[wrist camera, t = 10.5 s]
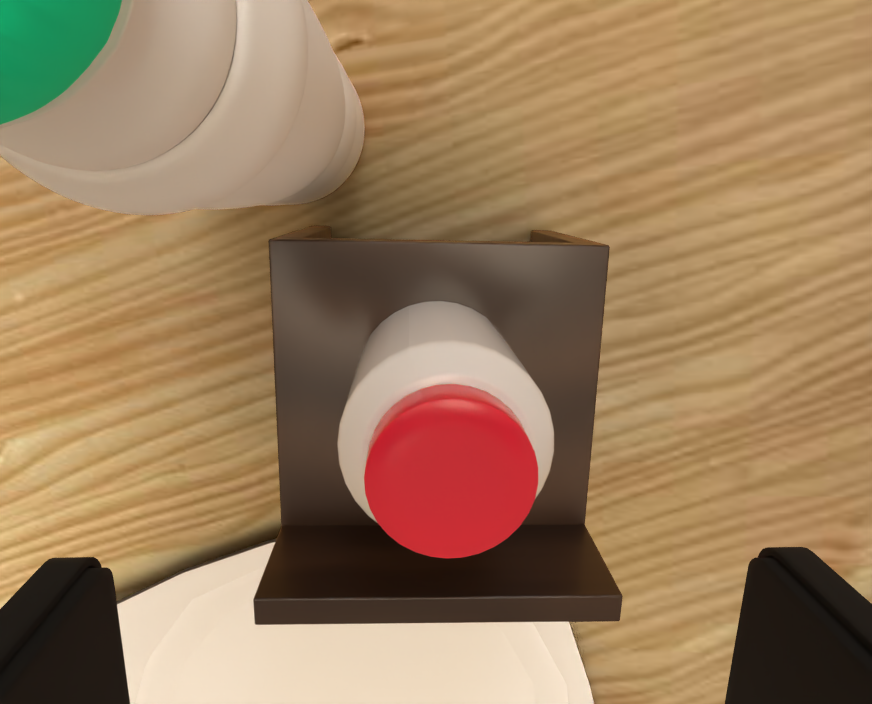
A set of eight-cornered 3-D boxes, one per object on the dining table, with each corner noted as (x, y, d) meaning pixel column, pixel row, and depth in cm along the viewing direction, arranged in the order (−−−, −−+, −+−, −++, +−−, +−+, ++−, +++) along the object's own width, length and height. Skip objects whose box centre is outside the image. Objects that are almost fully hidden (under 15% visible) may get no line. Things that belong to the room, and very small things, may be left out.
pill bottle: (389, 473, 24) (379, 620, 15) (331, 333, 22) (287, 412, 14) (535, 423, 23) (603, 545, 15) (486, 277, 22) (532, 325, 14)
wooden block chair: (310, 225, 30) (231, 250, 17) (550, 230, 31) (660, 257, 17) (317, 451, 33) (254, 625, 20) (535, 451, 34) (620, 622, 20)
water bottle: (355, 39, 28) (44, -852, 4) (374, 196, 30) (232, 200, 6) (202, 55, 28) (-1016, -769, 4) (231, 211, 30) (-505, 277, 6)
